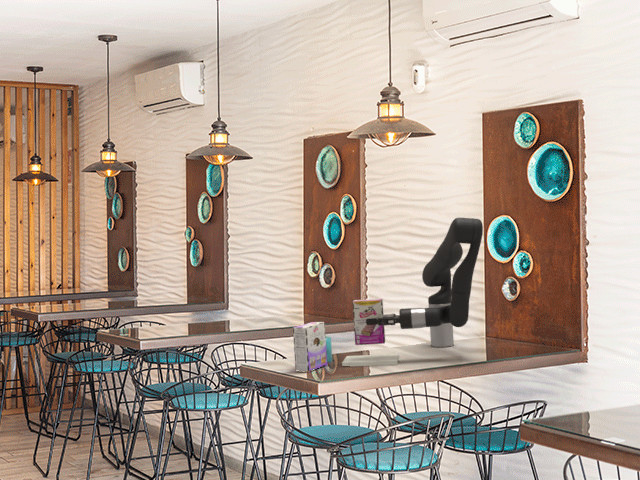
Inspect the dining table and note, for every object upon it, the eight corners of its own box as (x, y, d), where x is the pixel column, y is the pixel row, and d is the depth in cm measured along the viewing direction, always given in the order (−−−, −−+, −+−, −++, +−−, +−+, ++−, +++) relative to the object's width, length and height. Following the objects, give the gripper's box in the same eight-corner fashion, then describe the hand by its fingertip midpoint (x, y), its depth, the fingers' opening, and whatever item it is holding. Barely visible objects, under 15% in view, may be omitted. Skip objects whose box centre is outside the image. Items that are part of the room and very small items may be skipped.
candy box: (314, 365, 308) (311, 321, 308) (328, 365, 305) (325, 321, 305) (295, 372, 296) (292, 326, 296) (308, 373, 293) (305, 327, 293)
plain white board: (347, 359, 315) (346, 356, 315) (399, 357, 312) (399, 354, 312) (342, 366, 301) (342, 362, 301) (397, 364, 298) (396, 360, 298)
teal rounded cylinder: (315, 360, 319) (313, 337, 319) (333, 359, 318) (331, 336, 318) (313, 363, 312) (311, 339, 312) (331, 362, 311) (330, 338, 311)
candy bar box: (355, 345, 304) (351, 301, 304) (356, 343, 309) (352, 300, 309) (385, 343, 303) (382, 299, 303) (385, 341, 308) (382, 298, 308)
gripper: (412, 331, 296) (366, 333, 299) (414, 325, 310) (369, 328, 313) (411, 310, 296) (364, 313, 299) (413, 306, 310) (368, 308, 313)
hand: (367, 320), depth 306 cm, fingers closed on candy bar box, 5 cm apart
